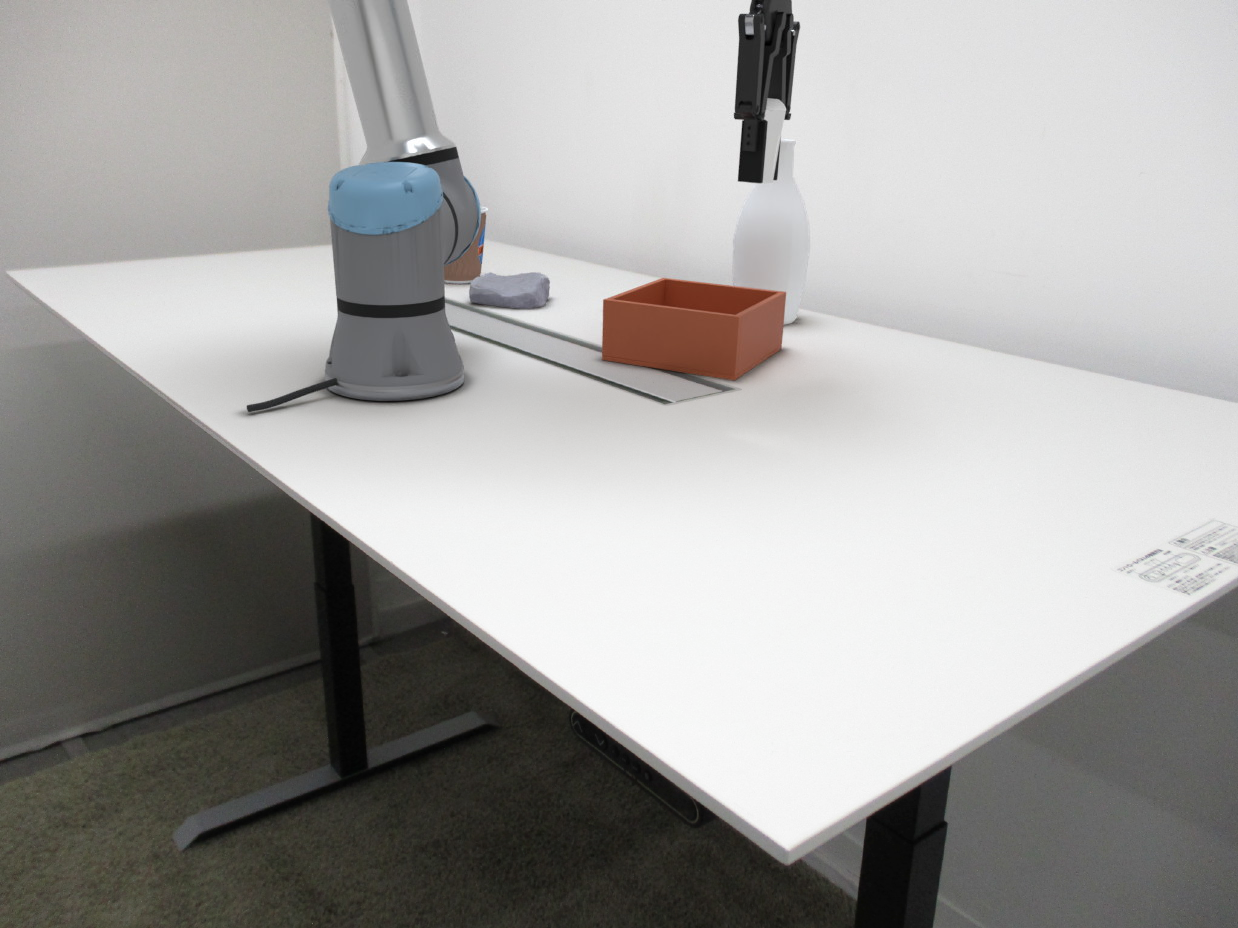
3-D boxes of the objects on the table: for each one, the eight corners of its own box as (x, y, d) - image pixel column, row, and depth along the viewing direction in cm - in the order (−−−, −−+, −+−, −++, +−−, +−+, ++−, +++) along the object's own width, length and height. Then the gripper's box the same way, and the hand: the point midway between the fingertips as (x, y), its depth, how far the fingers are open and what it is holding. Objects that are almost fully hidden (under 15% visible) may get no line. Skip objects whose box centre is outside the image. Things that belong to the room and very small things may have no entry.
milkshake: (746, 179, 118) (755, 89, 115) (785, 184, 115) (795, 91, 112) (724, 180, 115) (732, 87, 112) (764, 185, 112) (774, 89, 108)
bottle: (746, 308, 157) (758, 136, 148) (814, 317, 152) (831, 140, 143) (715, 320, 148) (726, 139, 139) (786, 331, 143) (802, 143, 134)
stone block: (542, 320, 152) (552, 295, 161) (540, 291, 150) (550, 266, 158) (465, 319, 154) (479, 294, 162) (461, 290, 151) (476, 265, 159)
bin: (734, 380, 118) (739, 317, 115) (601, 360, 125) (603, 299, 123) (781, 349, 133) (786, 291, 130) (660, 332, 140) (662, 277, 138)
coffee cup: (496, 284, 170) (495, 211, 166) (435, 287, 166) (433, 212, 162) (481, 273, 179) (479, 204, 174) (423, 275, 175) (420, 205, 171)
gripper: (783, -59, 98) (763, 188, 106) (833, -39, 112) (812, 178, 121) (712, -58, 101) (697, 183, 109) (770, -38, 115) (753, 173, 124)
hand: (757, 180), depth 115 cm, fingers closed on milkshake, 4 cm apart
